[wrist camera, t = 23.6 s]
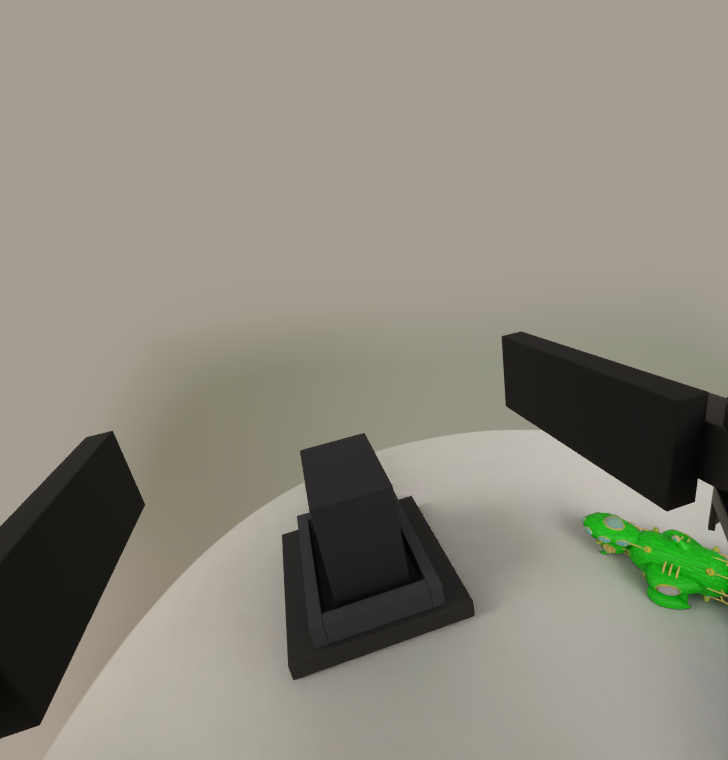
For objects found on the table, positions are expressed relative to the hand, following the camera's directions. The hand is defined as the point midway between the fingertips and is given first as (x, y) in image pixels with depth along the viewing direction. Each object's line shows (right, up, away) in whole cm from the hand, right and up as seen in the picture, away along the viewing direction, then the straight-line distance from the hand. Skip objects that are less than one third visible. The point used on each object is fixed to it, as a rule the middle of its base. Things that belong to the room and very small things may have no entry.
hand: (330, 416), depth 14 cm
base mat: (+1, -16, +22) cm, 28 cm away
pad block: (+1, -15, +22) cm, 27 cm away
